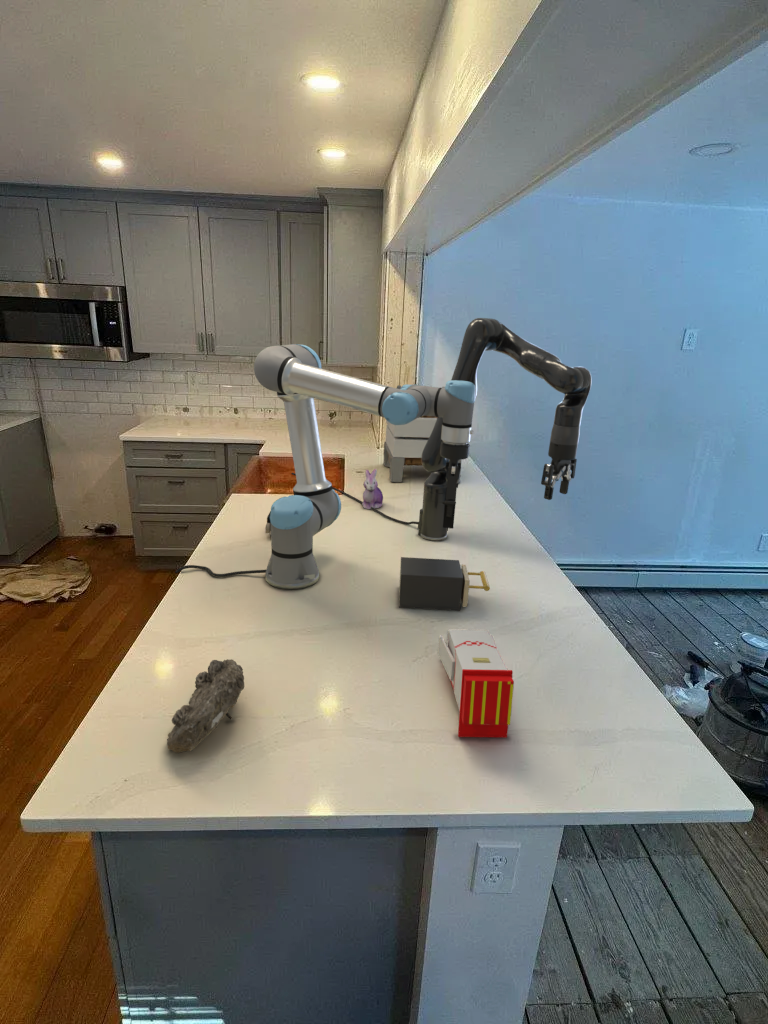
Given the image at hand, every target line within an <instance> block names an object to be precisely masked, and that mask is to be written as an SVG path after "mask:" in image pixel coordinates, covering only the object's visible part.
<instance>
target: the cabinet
mask: <svg viewBox="0 0 768 1024" xmlns="http://www.w3.org/2000/svg"><path fill="white" fill-rule="evenodd" d="M460 563H461V562H460V560H459V559H443V558H426V557H425V558H423V557H405V556H400V566H399V567H400V570H399V587H398V608H400V609H403V608H404V609H417V610H418V609H419V610H435V611H436V610H437V611H454V612H455V611H458V612H460V611H461V603H462V602H461V592H462V583H463V576H462V571H461V564H460Z"/></svg>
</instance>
